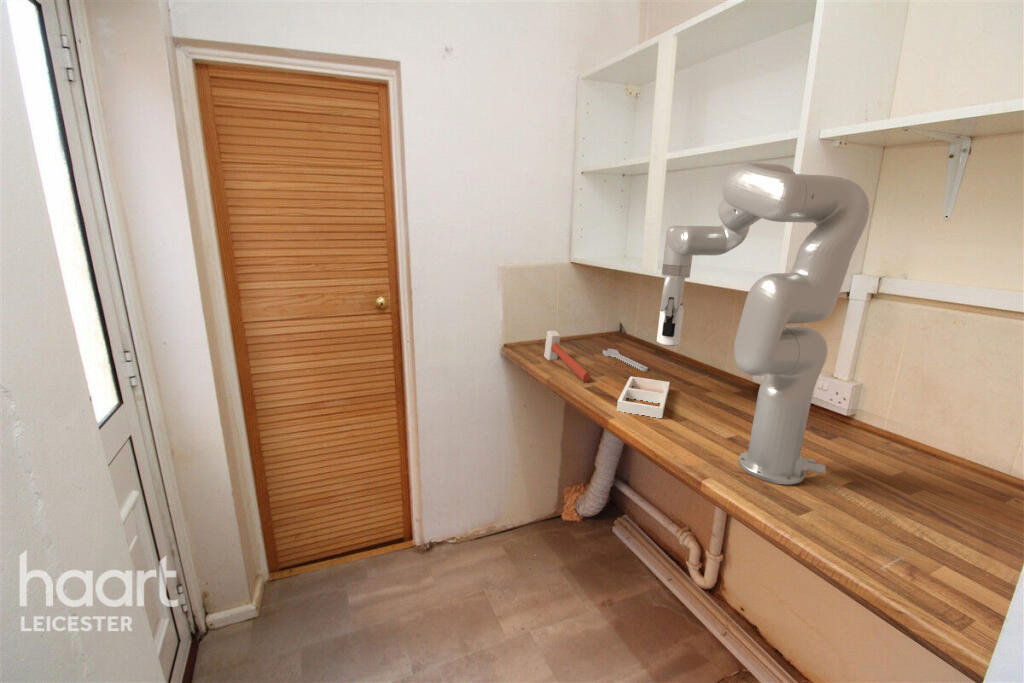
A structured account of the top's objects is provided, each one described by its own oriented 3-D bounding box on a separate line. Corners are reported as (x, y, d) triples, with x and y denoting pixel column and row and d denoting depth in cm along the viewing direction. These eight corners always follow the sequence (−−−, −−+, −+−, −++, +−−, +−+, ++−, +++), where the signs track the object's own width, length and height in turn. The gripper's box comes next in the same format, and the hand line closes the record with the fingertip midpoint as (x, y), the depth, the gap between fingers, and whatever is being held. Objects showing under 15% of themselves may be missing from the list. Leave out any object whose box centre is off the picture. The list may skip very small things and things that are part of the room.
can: (653, 340, 140) (657, 300, 137) (673, 340, 141) (679, 301, 138) (661, 346, 134) (666, 305, 131) (683, 346, 135) (688, 305, 131)
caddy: (668, 391, 145) (669, 382, 144) (661, 419, 124) (663, 408, 124) (629, 385, 149) (630, 376, 149) (616, 411, 129) (617, 401, 128)
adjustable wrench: (649, 372, 164) (649, 367, 164) (633, 373, 162) (633, 369, 162) (613, 352, 187) (613, 348, 187) (599, 353, 185) (599, 349, 185)
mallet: (593, 364, 149) (555, 329, 174) (584, 365, 148) (546, 330, 173) (589, 393, 153) (552, 355, 179) (579, 395, 152) (543, 356, 178)
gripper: (665, 267, 139) (658, 327, 144) (658, 273, 125) (651, 339, 129) (692, 269, 136) (684, 330, 141) (688, 275, 122) (679, 343, 127)
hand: (668, 334), depth 135 cm, fingers closed on can, 3 cm apart
